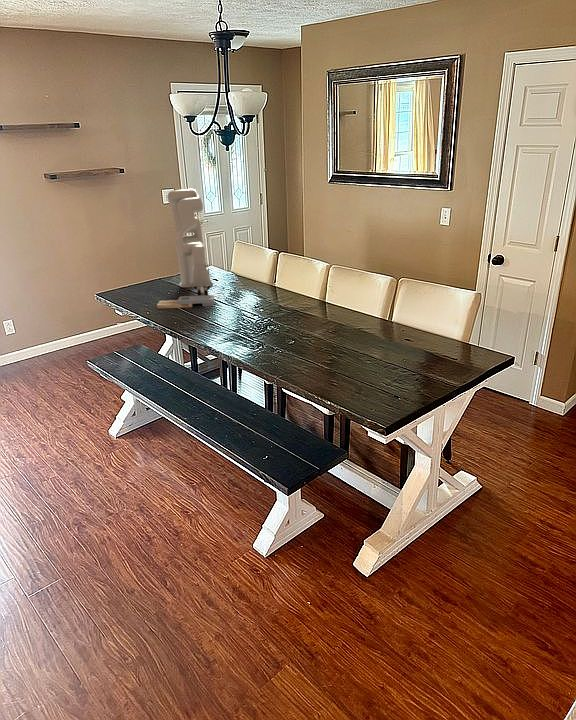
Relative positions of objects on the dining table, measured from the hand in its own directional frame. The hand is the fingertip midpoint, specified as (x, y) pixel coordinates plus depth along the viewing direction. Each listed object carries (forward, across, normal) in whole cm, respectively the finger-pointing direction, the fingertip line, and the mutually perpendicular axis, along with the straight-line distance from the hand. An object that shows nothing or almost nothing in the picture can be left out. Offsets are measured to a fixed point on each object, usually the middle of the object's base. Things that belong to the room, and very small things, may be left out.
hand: (203, 296), depth 322 cm
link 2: (+2, +3, +9) cm, 10 cm away
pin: (+2, 0, 0) cm, 2 cm away
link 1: (+2, +15, +9) cm, 18 cm away
